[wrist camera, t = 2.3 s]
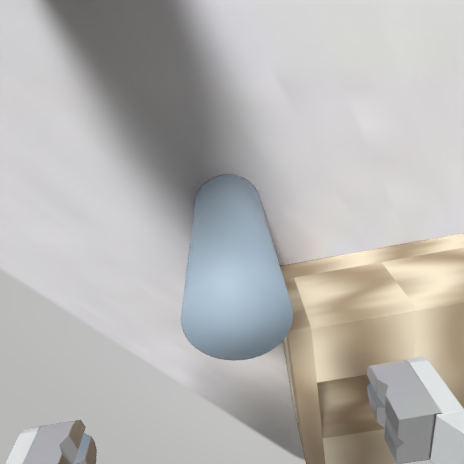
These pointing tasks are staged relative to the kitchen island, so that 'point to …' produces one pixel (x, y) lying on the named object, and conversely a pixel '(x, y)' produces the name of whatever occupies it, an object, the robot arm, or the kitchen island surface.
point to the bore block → (369, 338)
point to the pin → (233, 275)
